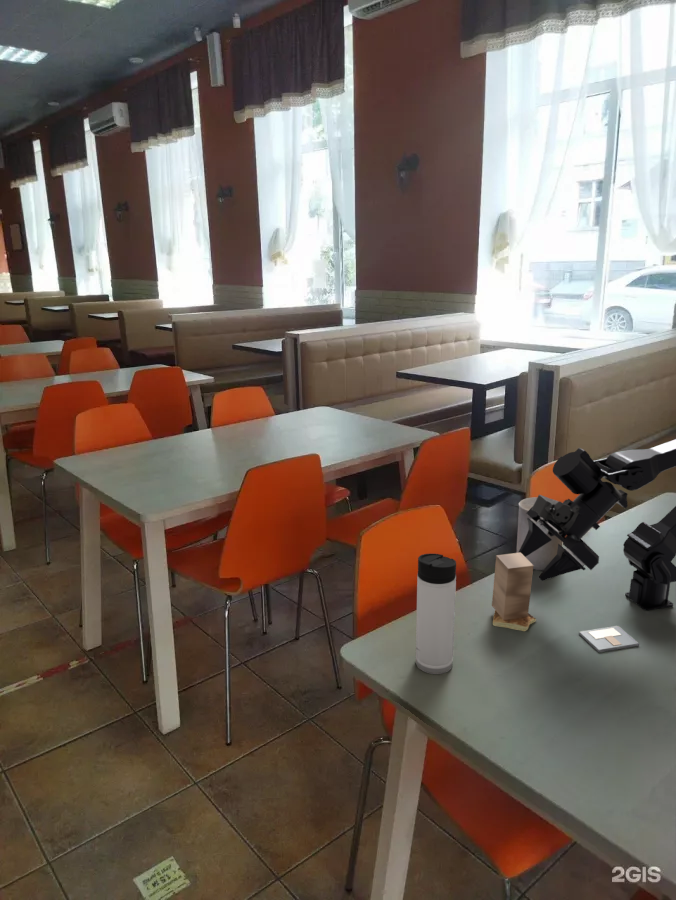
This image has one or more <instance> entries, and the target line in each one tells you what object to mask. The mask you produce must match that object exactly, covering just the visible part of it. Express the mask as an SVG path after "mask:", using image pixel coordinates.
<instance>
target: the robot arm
mask: <svg viewBox="0 0 676 900" xmlns="http://www.w3.org/2000/svg"><path fill="white" fill-rule="evenodd" d="M675 467H676V438H675V439H673V440H670V441H666V442H664V443H661V444H659V445H656V446H654V447H650V448H645V449H625V450H621V451H616V452H613V453H611V454H609V455H608V456H607V457H605V458H604V457H603V458H600V459H597V460H594V459H592V457H591V455H590V454H589V453H588V452H587V451H586V450H585V449H584V448H581V447H578V448H577V449H576V450H575V451H571V452H568V453H566V454H564V455H563V456H560V457H559V458H558V459H557V460H556V462H555V463H554V464H553V467H552V473H553V474H554V476H555V477H556V478H557V479H558V480H559V481H561V483H562V484H563V485H564V486H565V487H566V488H567V489H568V490H569V491H570V492H571V493H572V494H573V495H577V496H576V497H575V499H573V500H572V499H570V498H567V499H565V500H564V501H559V500H556V499H553V498H550V497H547V496H544V495H542V494H538V496H536V497H537V499H536V501H535V503H534V505H533V507H532V508H531V509H530V510H529V511H528V512H527V513H526V514H527V515H528V516H529V517H530V518H531V519H529V518H528V517H527V521H528V526H529V530H528V533H527V535H526V538H525V540H524V542H523V544H522V546H521V548H520V550H519V552H518V553H520V552H521V553H522V554H523V555H524V556H525V557H526V556H528V555H529V554H531V553H532V552H534V551H536V550H537V549H539V548H540V547H542V546H543V545H545V544H547V543H548V542H550V541H551V540H552V539H551V538H550V537H548V536H547V535H546V534H547V533H548V534H549V535H550V536H556V537H557V538H558V539H560V540H561V541H562V546H561V545H560V544H558V549H557V555H556V556H555V557H554V558H553V559H552V560H551V562H550V563H549V564H548V565H547V566H546V567H545V569H544V570H541V572H540V573H539V575H538V579H539V580H541V581H542V582H543V581H547V580H549V579H550V580H551V579H553V578H555V577H558V576H561V575H565V574H568V573H571V572H575V571H580V570H583V571H585V570H586V567H587V569H589V570H590V571H592V570H593V569H594V568H595V567H596V566H597V565H598V564H599V563H600V562H599V561H600V556H599V555H598V554H597V553H596V551H594V550H593V549H592V548H591V547H590V546H589V544H587V543H586V542H585V541H584V540H583V539H582V538H583V537H585V535H586V534H587V533H588V532H589V531H591V529H592V528H593V529H594V530H595V531H597V530H598V529H600V528H601V525H600V524H598V522H599V521H600V520H601V519H602V518H603V517H604V516H605V515H606V514H607V513H608V512H609V511H610V510H611V509H612V508H613V507H614V506H615V505H616V504H618V505H619V506H621V507H622V508H624V509H627V508H628V505H629V504H628V495H629V494H628V493H627V492H626V491H624V490H625V489H626V490H627V491H629V492H630V491H637V490H640V489H641V488H643V487H644V486H647V485H648V484H650V483H652V482H654V480H655V479H656V478H657V477H658V475H659V474H661V473H663V472H665V471H667V470H670V469H672V468H673V469H674V468H675ZM602 479H605V480H607V481H603V480H602ZM614 485H617V486H620V487H621V488H623V489H624V490H622V489H618V488H616V486H614ZM552 499H553V500H552ZM555 500H556V501H555ZM557 501H559V502H557ZM560 531H561V532H560ZM558 533H559V534H560V535H559V534H558ZM626 537H627V538H626V540H625V541H624V543H623V549H622V550H623V554H624V556H625V558H626V559H627V560H628V563H629V565H630V566H632V567H633V568H634V569H636V570H633V573H632V578H631V579H630V585H629V591H628V592H625V594H624V596H625V597H626V598H627V599H629V600H631V601H632V602H633V603H635V605H637V606H639V607H640V608H642V610H644V611H651V610H658V609H659V610H660V609H665V608H671V607H672V608H673V607H674V603H673V602H672V601H671V600H669V595H670V588H671V584H672V583H675V582H676V565H675V564H674V563H673V562H672V561H673V560H674V559H675V558H676V505H675V506H674V507H673V508H672V509H671V510H670V511H669V512H668V513H667V514H665V515H664V516H663V518H661V519H660V520H659V521H658V522H655V523H653V524H647V523H646V522H644V521H642V522H640V523H639V524H638V526H636V528H635V529H634V530H632V531H631V532H630V533H627V535H626ZM563 546H564V547H563Z"/></svg>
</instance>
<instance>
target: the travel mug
mask: <svg viewBox="0 0 676 900" xmlns="http://www.w3.org/2000/svg"><path fill="white" fill-rule="evenodd" d="M456 571H457V561H456V560H455V559H453V558H450V557H449V556H448V557H447V556H444V554H439V553H424V554H421V555H419V556H418V557H417V574H416V575H417V576H416V577H417V579H416V581H417V583H416V584H417V585H416V630H415V631H416V633H415V634H416V635H415V636H416V637H415V638H416V639H415V665H416V666H417V668H418V669H420V670H421V671H423V672H424V673H427V674H432V675H442V674H445V673H448V672H449V671H450V670H451V669H452V668H453V663H454V640H455V619H456V618H455V614H456V613H455V612H456V593H457V592H456V590H457V589H456V588H457V581H456V580H457V573H456Z"/></svg>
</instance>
